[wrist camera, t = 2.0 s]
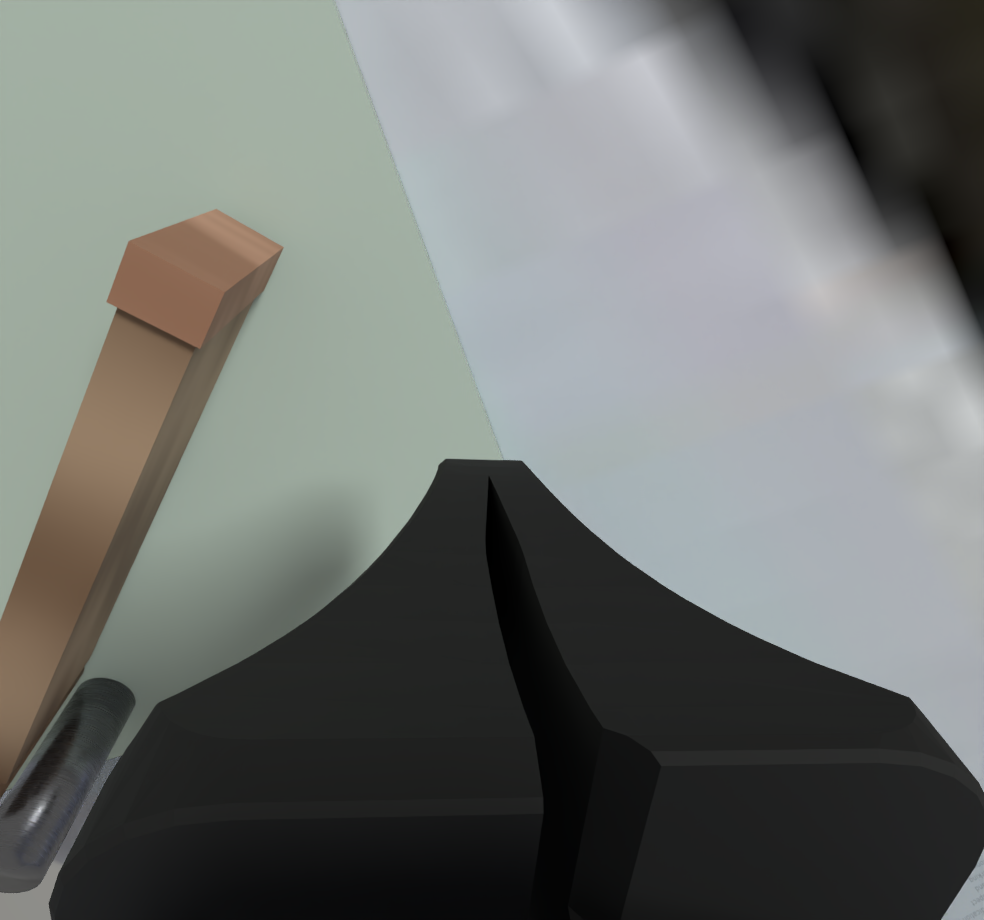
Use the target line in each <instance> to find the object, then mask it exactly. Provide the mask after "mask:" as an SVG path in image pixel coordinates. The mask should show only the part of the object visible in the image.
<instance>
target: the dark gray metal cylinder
mask: <svg viewBox="0 0 984 920" xmlns="http://www.w3.org/2000/svg"><path fill="white" fill-rule="evenodd" d="M135 703H136V700H135V696H134V694H133V693H132V691H131V690H130V689H129V688H128V687H127V686H126V685H124V684H122V683H121V682H119V681H116V680H113V679H109V678H92V679H89V680H86V681H84V682H83V683H81V684H80V685H79V687H78V688H77V690H76V691H75V693H74V694H73V696H72V697H71V699H70V700H69V702H68V703H67V705H66V706H65V708H64V710H63V711H62V713H61V714H60V716H59V717H58V719H57V720H56V722H55V723H54V725H53V726H52V728H51V729H50V731H49V733H48V734H47V736H46V737H45V739H44V740H43V742H42V743H41V745H40V746H39V748H38V749H37V751H36V753H35V754H34V756H33V757H32V759H31V760H30V762H29V763H28V765H27V766H26V768H25V769H24V771H23V772H22V774H21V776H20V777H19V779H18V780H17V782H16V783H15V785H14V786H13V788H12V789H11V791H10V792H9V794H8V795H7V797H6V799H5V800H4V802H3V803H2V805H1V806H0V892H4V893H20V892H25V891H29V890H31V889H33V888H35V887H37V886H38V885H39V884H40V883H41V881H42V880H43V878H44V876H45V874H46V872H47V870H48V868H49V867H50V865H51V863H52V861H53V859H54V857H55V855H56V854H57V852H58V850H59V848H60V846H61V844H62V842H63V840H64V839H65V837H66V835H67V833H68V831H69V829H70V827H71V825H72V823H73V822H74V820H75V818H76V816H77V814H78V812H79V810H80V808H81V807H82V805H83V803H84V801H85V799H86V797H87V795H88V793H89V792H90V790H91V788H92V786H93V784H94V782H95V780H96V778H97V777H98V775H99V773H100V771H101V769H102V767H103V765H104V763H105V762H106V760H107V758H108V756H109V754H110V752H111V750H112V748H113V746H114V745H115V743H116V741H117V739H118V737H119V735H120V733H121V731H122V730H123V728H124V726H125V724H126V722H127V720H128V718H129V716H130V715H131V713H132V711H133V709H134V707H135Z"/></svg>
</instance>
